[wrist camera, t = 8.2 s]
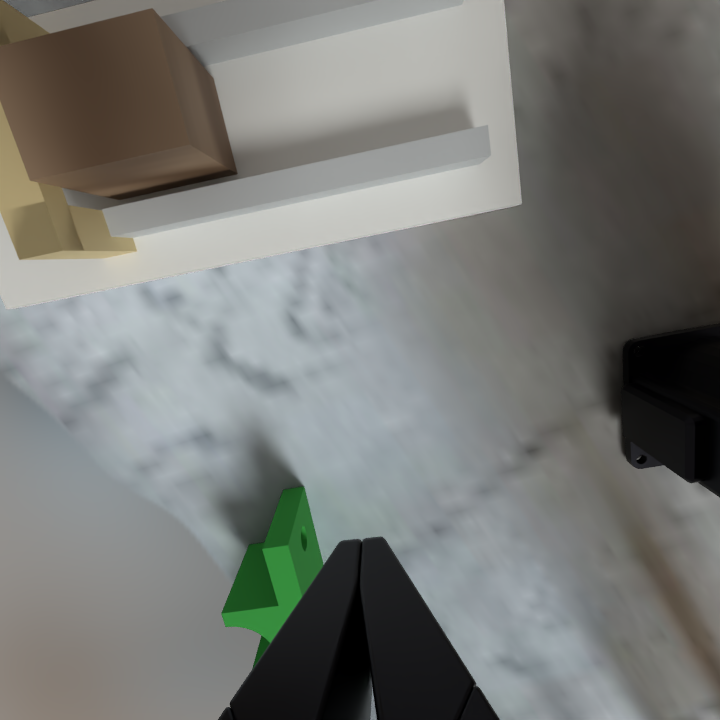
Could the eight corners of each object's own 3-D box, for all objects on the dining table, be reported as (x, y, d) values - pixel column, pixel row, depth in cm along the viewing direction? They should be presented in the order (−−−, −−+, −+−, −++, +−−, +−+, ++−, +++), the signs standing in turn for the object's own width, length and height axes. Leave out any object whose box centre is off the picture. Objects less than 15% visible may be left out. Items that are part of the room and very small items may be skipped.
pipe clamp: (236, 494, 21) (201, 556, 17) (304, 483, 21) (288, 544, 17) (283, 658, 24) (264, 749, 20) (345, 650, 24) (340, 740, 19)
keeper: (213, 78, 15) (152, 7, 11) (237, 174, 16) (190, 144, 12) (89, 107, 16) (-19, 50, 11) (119, 200, 16) (29, 181, 12)
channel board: (486, -78, 15) (550, -254, 10) (513, 206, 17) (575, 186, 12) (-75, 62, 16) (-279, -27, 11) (25, 306, 19) (-104, 326, 14)
